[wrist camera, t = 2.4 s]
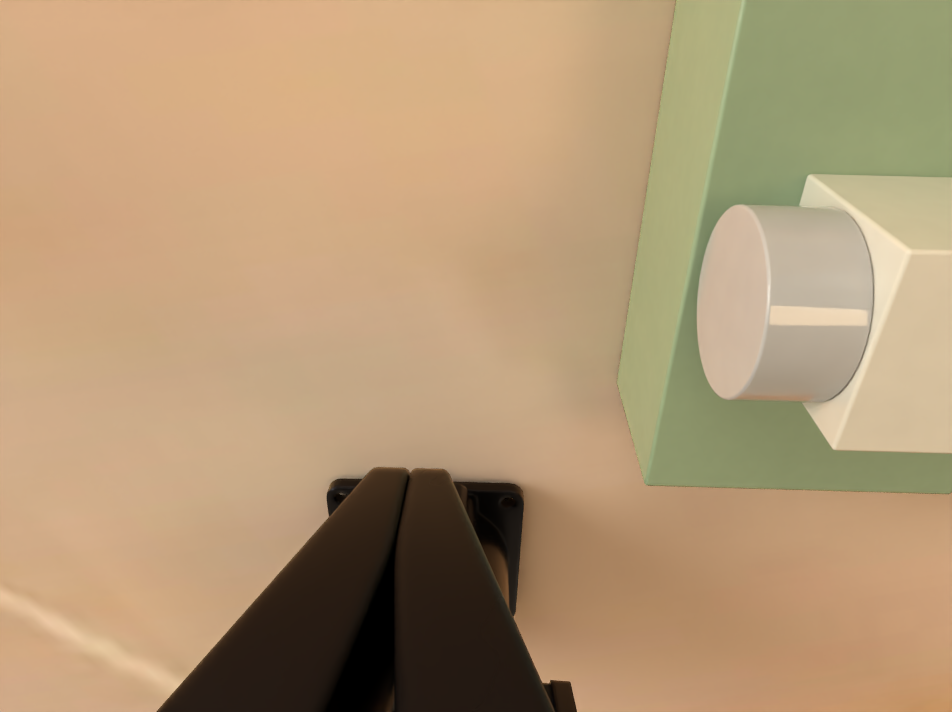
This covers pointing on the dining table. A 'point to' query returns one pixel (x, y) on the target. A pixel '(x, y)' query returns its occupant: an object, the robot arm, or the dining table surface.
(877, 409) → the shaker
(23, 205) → the dining table surface
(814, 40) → the stand
